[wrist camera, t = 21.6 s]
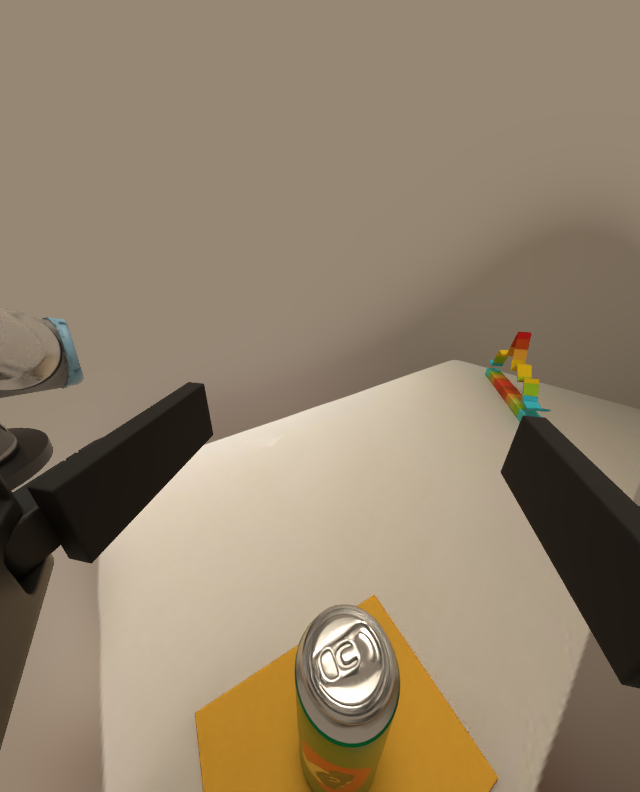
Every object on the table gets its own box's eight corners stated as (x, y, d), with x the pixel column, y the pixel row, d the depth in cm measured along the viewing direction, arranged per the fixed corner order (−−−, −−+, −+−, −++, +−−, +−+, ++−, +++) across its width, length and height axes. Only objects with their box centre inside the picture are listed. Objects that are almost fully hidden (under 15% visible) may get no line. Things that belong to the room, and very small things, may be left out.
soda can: (392, 779, 17) (428, 696, 12) (316, 837, 15) (318, 770, 10) (353, 676, 21) (366, 581, 16) (289, 713, 20) (281, 620, 14)
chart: (544, 432, 53) (577, 356, 47) (525, 429, 54) (555, 354, 47) (497, 375, 80) (514, 322, 73) (485, 374, 80) (500, 321, 74)
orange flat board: (241, 1131, 10) (240, 1133, 10) (195, 714, 20) (194, 712, 20) (496, 779, 17) (498, 778, 17) (374, 596, 27) (374, 594, 27)
